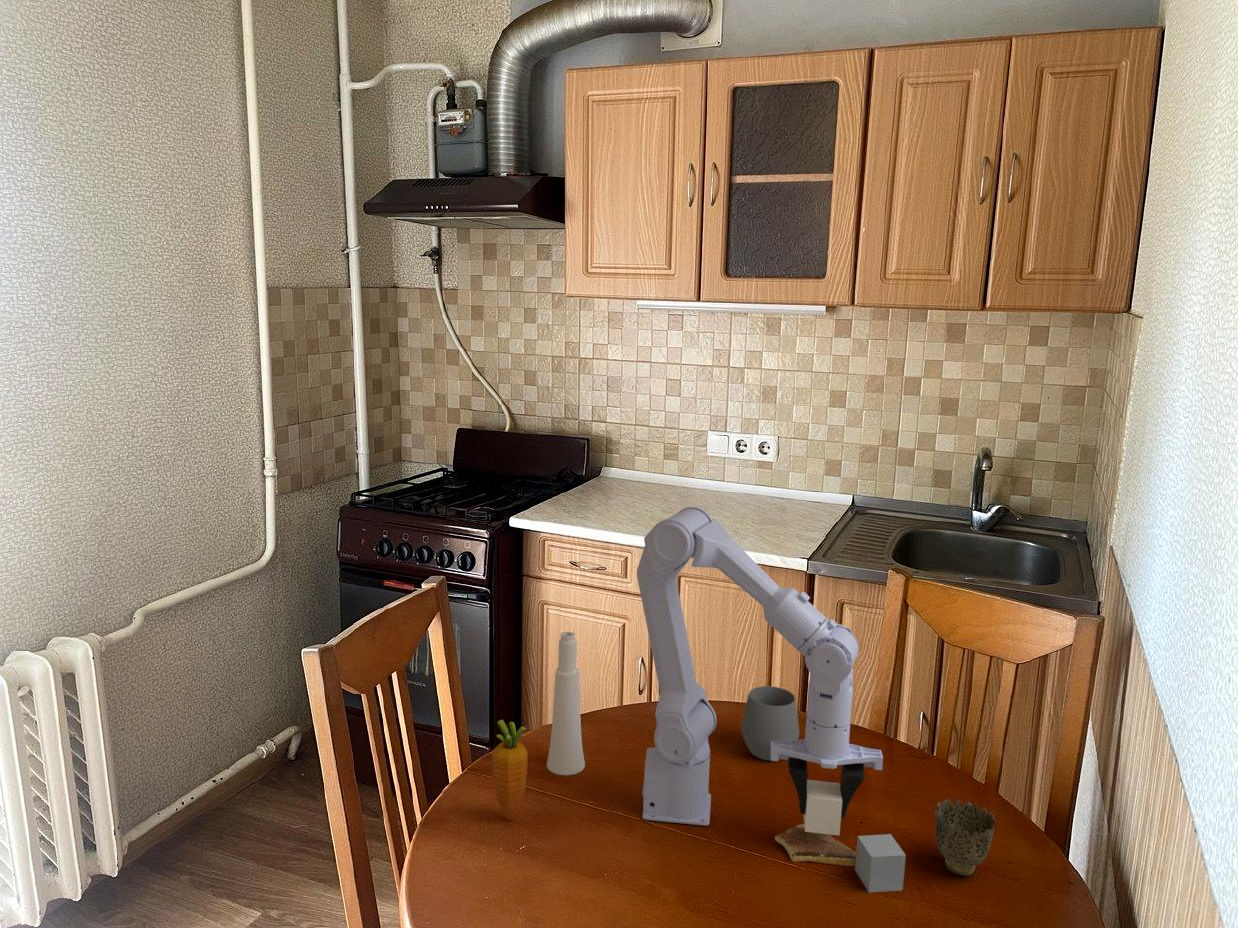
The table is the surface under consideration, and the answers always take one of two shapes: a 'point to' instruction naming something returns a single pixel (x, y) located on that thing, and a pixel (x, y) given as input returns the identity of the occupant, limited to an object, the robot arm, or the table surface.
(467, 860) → the table surface
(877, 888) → the slate block
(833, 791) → the cream block
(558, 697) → the cosmetic bottle
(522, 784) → the carrot
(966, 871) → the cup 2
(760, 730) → the cup
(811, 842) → the shard
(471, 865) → the table surface
